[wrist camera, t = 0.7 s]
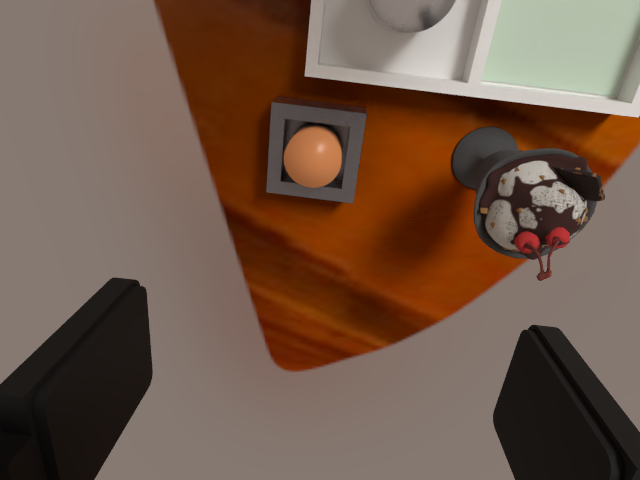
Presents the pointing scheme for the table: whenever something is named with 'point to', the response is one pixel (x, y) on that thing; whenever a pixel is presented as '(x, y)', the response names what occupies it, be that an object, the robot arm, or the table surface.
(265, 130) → the table surface
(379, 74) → the shallow white tray
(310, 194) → the button housing
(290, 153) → the button cap
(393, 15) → the cylinder
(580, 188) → the sundae
